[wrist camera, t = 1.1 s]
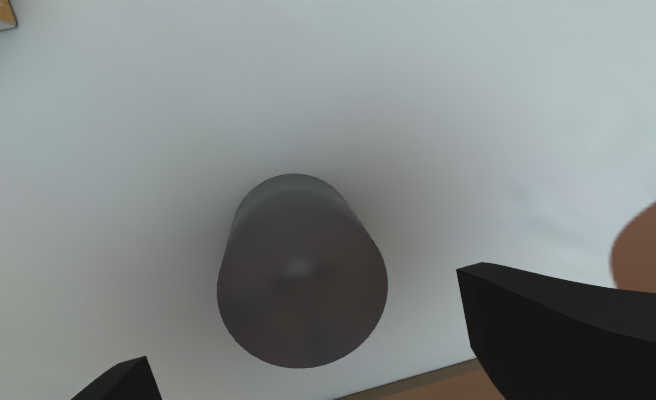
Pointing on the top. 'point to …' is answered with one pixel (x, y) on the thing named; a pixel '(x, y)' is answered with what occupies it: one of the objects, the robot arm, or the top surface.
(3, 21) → the small box
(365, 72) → the top surface
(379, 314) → the dark gray cylinder
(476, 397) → the square bronze board
